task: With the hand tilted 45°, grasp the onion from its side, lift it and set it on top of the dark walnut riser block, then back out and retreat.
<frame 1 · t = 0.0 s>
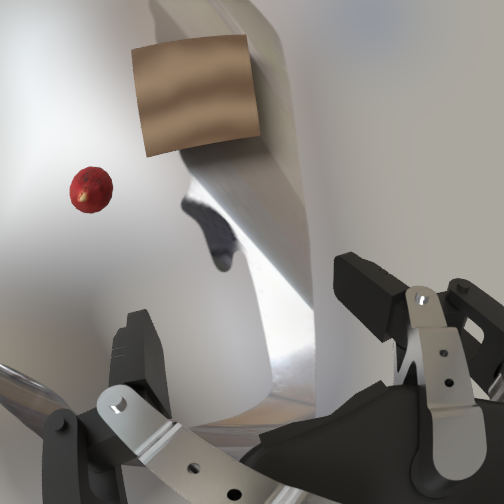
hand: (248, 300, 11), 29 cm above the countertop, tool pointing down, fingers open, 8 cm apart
onion: (97, 184, 33), on the countertop
walnut base: (192, 95, 32), on the countertop
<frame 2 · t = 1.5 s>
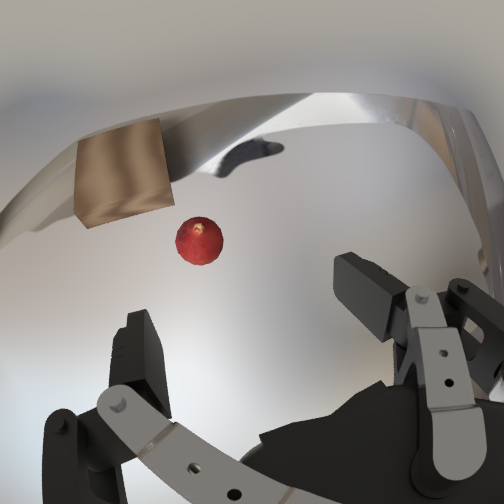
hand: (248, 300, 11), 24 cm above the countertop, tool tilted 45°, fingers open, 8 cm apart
onion: (200, 252, 37), on the countertop
walnut base: (125, 179, 39), on the countertop
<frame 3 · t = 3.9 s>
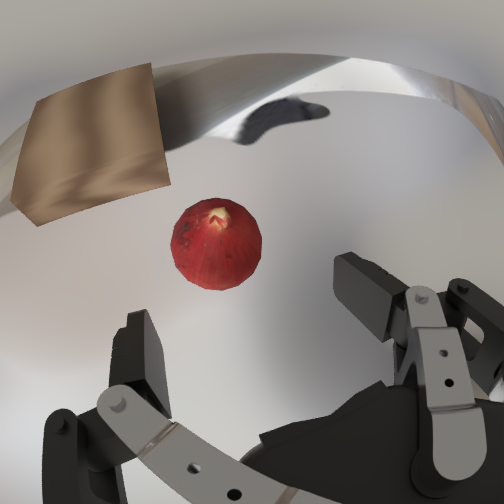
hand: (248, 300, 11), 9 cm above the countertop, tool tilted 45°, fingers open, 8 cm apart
onion: (216, 263, 21), on the countertop
walnut base: (97, 150, 24), on the countertop
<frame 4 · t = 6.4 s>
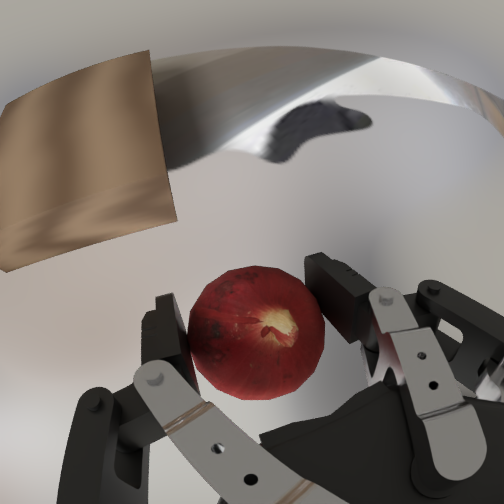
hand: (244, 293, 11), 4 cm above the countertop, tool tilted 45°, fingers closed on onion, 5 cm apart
onion: (246, 338, 15), on the countertop, touching gripper
walnut base: (78, 167, 17), on the countertop
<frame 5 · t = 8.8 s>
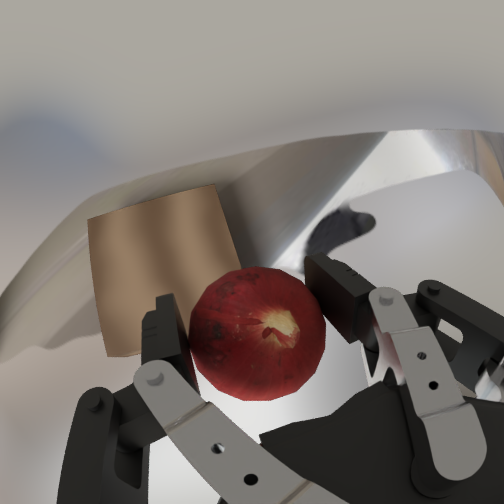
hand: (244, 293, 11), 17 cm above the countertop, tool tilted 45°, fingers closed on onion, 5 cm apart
onion: (246, 339, 15), point 13 cm above the countertop, touching gripper
walnut base: (169, 278, 29), on the countertop
when the fingers open (11 cm above the countertop, at t = 11.3 s): onion drops 1 cm, resting on walnut base.
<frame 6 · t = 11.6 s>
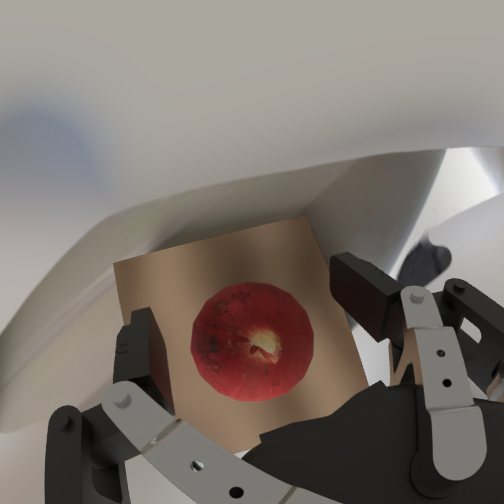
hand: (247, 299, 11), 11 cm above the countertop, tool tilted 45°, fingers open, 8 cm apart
onion: (247, 341, 16), point 5 cm above the countertop, touching walnut base
walnut base: (237, 342, 21), on the countertop
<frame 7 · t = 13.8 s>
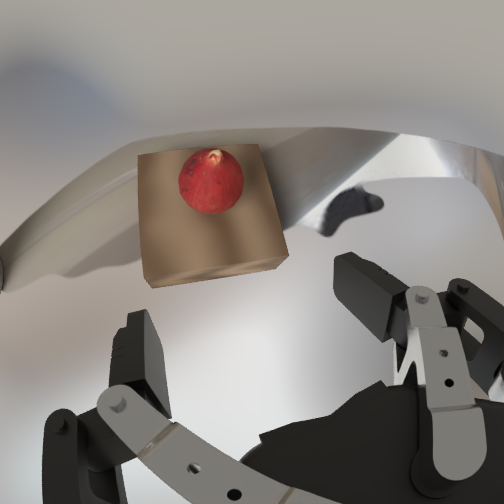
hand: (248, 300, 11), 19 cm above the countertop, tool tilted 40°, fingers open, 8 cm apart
onion: (208, 202, 27), point 5 cm above the countertop, touching walnut base
walnut base: (204, 220, 32), on the countertop
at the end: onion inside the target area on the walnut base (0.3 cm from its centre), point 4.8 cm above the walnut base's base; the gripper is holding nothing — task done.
